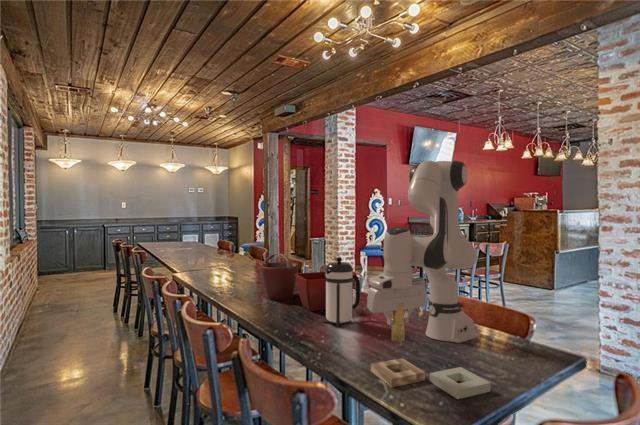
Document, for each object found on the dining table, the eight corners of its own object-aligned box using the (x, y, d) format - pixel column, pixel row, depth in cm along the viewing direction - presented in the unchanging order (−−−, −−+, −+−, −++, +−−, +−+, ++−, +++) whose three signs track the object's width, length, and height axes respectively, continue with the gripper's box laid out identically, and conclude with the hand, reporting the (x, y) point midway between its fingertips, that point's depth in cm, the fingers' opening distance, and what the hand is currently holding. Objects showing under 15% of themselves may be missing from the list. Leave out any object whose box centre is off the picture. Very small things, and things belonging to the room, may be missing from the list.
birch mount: (402, 365, 131) (402, 358, 131) (424, 380, 120) (424, 372, 120) (370, 371, 127) (370, 363, 127) (391, 387, 116) (391, 379, 116)
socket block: (460, 374, 124) (460, 366, 124) (490, 391, 113) (490, 382, 113) (429, 381, 120) (429, 373, 120) (457, 399, 109) (457, 390, 108)
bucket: (256, 293, 237) (256, 252, 236) (290, 290, 246) (290, 250, 246) (268, 303, 215) (268, 257, 214) (305, 299, 224) (305, 255, 223)
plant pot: (341, 310, 201) (341, 277, 200) (306, 313, 194) (306, 279, 193) (327, 301, 218) (327, 271, 218) (294, 304, 211) (294, 273, 211)
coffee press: (356, 329, 170) (356, 259, 169) (319, 326, 173) (319, 258, 173) (360, 317, 187) (360, 254, 186) (327, 315, 190) (327, 253, 190)
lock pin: (399, 336, 126) (399, 299, 126) (407, 340, 122) (407, 302, 122) (389, 338, 125) (388, 300, 124) (396, 342, 121) (396, 304, 120)
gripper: (419, 275, 130) (419, 316, 130) (364, 280, 122) (364, 324, 122) (431, 278, 124) (431, 321, 124) (374, 284, 116) (375, 330, 117)
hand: (397, 323), depth 123 cm, fingers closed on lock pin, 4 cm apart
